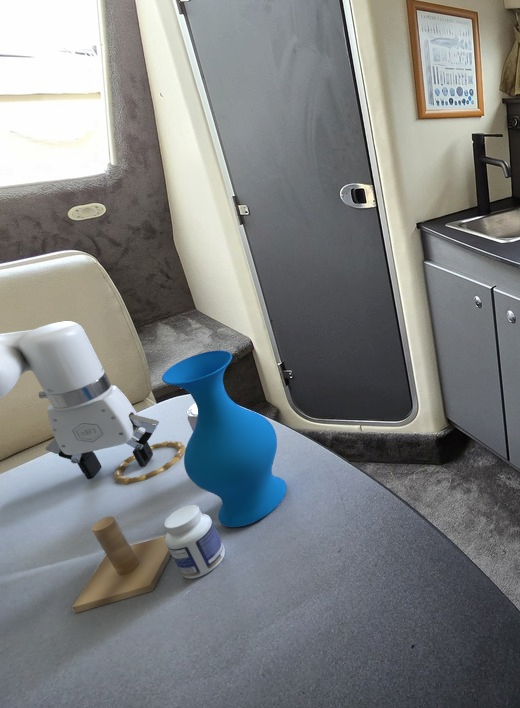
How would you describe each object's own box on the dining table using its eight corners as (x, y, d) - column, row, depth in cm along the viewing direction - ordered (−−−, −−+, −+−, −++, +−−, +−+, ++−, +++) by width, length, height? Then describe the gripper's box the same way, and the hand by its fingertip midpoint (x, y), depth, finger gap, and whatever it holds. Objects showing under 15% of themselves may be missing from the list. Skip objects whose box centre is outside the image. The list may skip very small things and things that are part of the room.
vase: (301, 467, 92) (256, 337, 81) (284, 522, 81) (229, 380, 70) (227, 485, 89) (169, 353, 78) (198, 546, 77) (127, 400, 67)
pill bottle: (222, 540, 78) (201, 494, 75) (229, 562, 75) (207, 515, 71) (180, 563, 75) (155, 516, 71) (184, 587, 71) (159, 539, 67)
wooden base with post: (75, 613, 68) (41, 562, 65) (111, 556, 76) (83, 508, 73) (153, 590, 71) (124, 540, 67) (180, 538, 79) (156, 490, 75)
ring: (103, 492, 88) (100, 487, 88) (133, 452, 98) (130, 448, 97) (172, 476, 91) (169, 471, 91) (195, 439, 100) (193, 434, 100)
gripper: (0, 415, 80) (49, 496, 87) (129, 391, 85) (167, 469, 92) (32, 389, 87) (76, 466, 94) (150, 367, 92) (184, 442, 99)
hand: (121, 467), depth 93 cm, fingers open, 7 cm apart
